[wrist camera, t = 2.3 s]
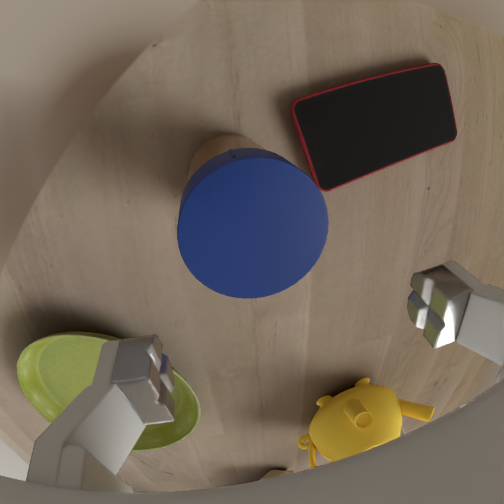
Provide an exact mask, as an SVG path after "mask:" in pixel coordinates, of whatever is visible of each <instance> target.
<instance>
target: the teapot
mask: <svg viewBox="0 0 504 504" xmlns="http://www.w3.org/2000/svg"><path fill="white" fill-rule="evenodd" d="M316 404H317V405H318V406H319V407H320V408H319V410H318V411H317V412H316V414H315V416H314V417H313V419H312V422H311V424H310V427H309V435H308V434H306V435H303V436H301V437H300V438H299V440H298V446H299V447H300V448H301V449H304V450H306V449H308V448H309V464H310V467H311V468H315V467H318V466H317V465H316V461H315V447H316V449H317V450H318V451H319V452H320V453H321V454H322V455H323V456H324V457H325V458H327V459H328V460H329V461H331V462H335V461H338V460H341V459H344V458H347V457H350V456H353V455H355V454H358V453H361V452H364V451H366V450H369V449H372V448H374V447H377V446H379V445H382V444H384V443H387V442H389V441H391V440H394V439H396V438H398V437H400V434H401V426H402V415H405V416H408V417H412V418H415V419H419V420H423V421H427V422H429V421H430V419H431V417H432V415H433V412H434V407H431V406H426V405H422V404H417V403H413V402H409V401H405V400H400V399H398V398H397V396H396V394H395V392H394V391H393V390H391V389H390V388H388V387H384V386H380V385H373V384H370V379H369V378H363V379H360V380H359V381H358V382H357V383H356V384H355V387H354V388H351V389H348V390H346V391H344V392H342V393H340V394H338V395H336V396H334V397H332V396H330V395H326V396H323V397H321V398H319V399H318V400H317V402H316ZM305 441H308V442H309V444H307V445H303V443H304V442H305Z"/></svg>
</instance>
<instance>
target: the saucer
mask: <svg viewBox="0 0 504 504" xmlns="http://www.w3.org/2000/svg"><path fill="white" fill-rule="evenodd" d="M114 340H122V339H120V338H117V337H113V336H109V335H105V334H99V333H92V332H63V333H56V334H52V335H49V336H46V337H43V338H41V339H38V340H36V341H34V342H33V343H31V344H29V345H28V346H27V347H26V348H25V349H24V350H23V351H22V353H21V354H20V356H19V358H18V361H17V368H16V370H17V378H18V382H19V385H20V387H21V390H22V392H23V394H24V395H25V397H26V398H27V400H28V401H29V403H30V404H31V405H32V406H33V407H34V409H35V410H36V411H37V412H38V413H39V414H40V415H42V416H43V417H44V418H45V419H46V420H48V421H49V422H50V423H51V424H52V422H53V421H54V420H55V419H56V418H57V417H58V416H59V415H60V414H61V413H62V412H63V411H64V410H65V409H66V408H67V407H68V406H69V405H70V403H71V402H72V401H73V400H74V399H75V398H76V397H77V396H78V395H79V394H80V393H81V392H82V391H83V390H84V389H85V388H86V387H87V386H92V383H93V379H94V375H95V371H96V367H97V363H98V360H99V356H100V352H101V349H102V345H103V344H104V343H105V342H107V341H114ZM172 369H173V374H174V380H175V389H174V390H173V392H172V393H171V396H172V398H173V399H174V401H175V421H171V422H164V423H157V424H148V425H145V426H146V427H145V428H144V430H143V432H142V433H141V435H140V437H139V438H138V440H137V442H136V443H135V445H134V446H133V448H132V450H131V451H145V450H154V449H160V448H164V447H167V446H170V445H173V444H175V443H177V442H179V441H181V440H183V439H184V438H186V437H187V436H188V435H189V434H191V432H192V431H193V430H194V429H195V428H196V426H197V424H198V422H199V419H200V405H199V401H198V398H197V396H196V394H195V392H194V391H193V389H192V388H191V387H190V385H189V384H188V383H187V381H186V380H185V379H184V378H183V377H182V376H181V375H180V374H179V373H178V372H177V371H176V370H175V369H174V368H173V367H172Z"/></svg>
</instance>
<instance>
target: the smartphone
mask: <svg viewBox="0 0 504 504" xmlns="http://www.w3.org/2000/svg"><path fill="white" fill-rule="evenodd" d="M290 112H291V115H292V118H293V121H294V124H295V126H296V129H297V132H298V135H299V138H300V140H301V143H302V146H303V149H304V152H305V155H306V158H307V161H308V164H309V167H310V170H311V173H312V176H313V179H314V182H315V184H316V185H317V187H318V188H319V189H320V190H321V191H331V190H333V189H335V188H338V187H340V186H343V185H345V184H347V183H350V182H352V181H355V180H357V179H360V178H362V177H364V176H367V175H369V174H372V173H374V172H377V171H379V170H382V169H384V168H387V167H389V166H392V165H394V164H397V163H399V162H402V161H404V160H407V159H409V158H412V157H414V156H417V155H419V154H422V153H424V152H427V151H430V150H432V149H435V148H437V147H440V146H442V145H445V144H448V143H450V142H452V141H454V140H455V138H456V136H457V128H456V122H455V116H454V111H453V106H452V101H451V96H450V91H449V87H448V82H447V78H446V74H445V71H444V69H443V67H442V66H441V65H440V64H438V63H432V64H426V65H421V66H416V67H411V68H406V69H402V70H397V71H393V72H388V73H384V74H380V75H376V76H372V77H368V78H364V79H361V80H357V81H353V82H350V83H346V84H343V85H339V86H336V87H332V88H329V89H326V90H322V91H319V92H316V93H313V94H310V95H307V96H304V97H301V98H298V99H296V100H295V101H294V102H293V103H292V105H291V108H290Z"/></svg>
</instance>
